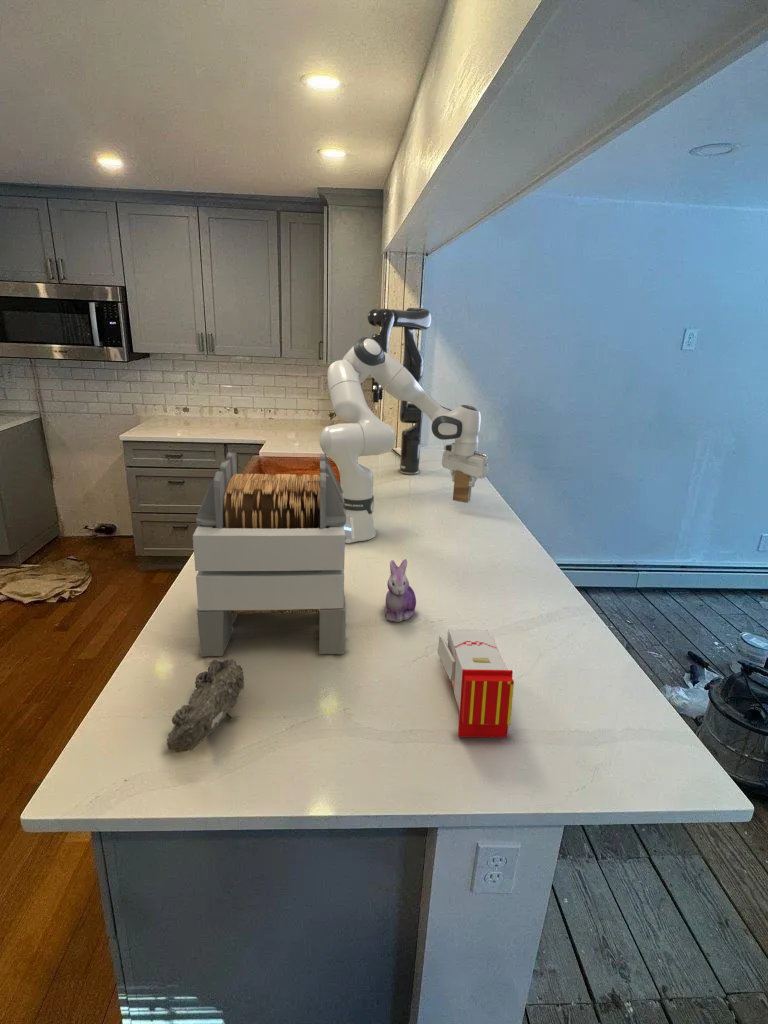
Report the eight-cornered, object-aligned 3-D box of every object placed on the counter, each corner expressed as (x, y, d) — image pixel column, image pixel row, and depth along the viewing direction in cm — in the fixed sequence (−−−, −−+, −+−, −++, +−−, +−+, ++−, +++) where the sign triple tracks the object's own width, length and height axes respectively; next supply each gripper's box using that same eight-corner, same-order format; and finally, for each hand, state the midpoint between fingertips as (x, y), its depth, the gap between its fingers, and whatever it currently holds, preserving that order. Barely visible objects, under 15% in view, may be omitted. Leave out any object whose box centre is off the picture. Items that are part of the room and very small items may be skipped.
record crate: (222, 587, 157) (213, 443, 143) (340, 586, 160) (343, 445, 147) (197, 659, 125) (183, 482, 111) (345, 655, 129) (349, 484, 115)
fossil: (192, 660, 117) (244, 628, 112) (224, 691, 120) (276, 661, 115) (142, 746, 98) (202, 712, 93) (182, 779, 101) (242, 748, 96)
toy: (488, 613, 130) (523, 677, 101) (484, 667, 133) (517, 744, 104) (435, 612, 130) (455, 676, 101) (432, 666, 133) (451, 743, 103)
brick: (467, 502, 218) (470, 473, 214) (452, 500, 220) (455, 470, 216) (470, 500, 222) (473, 470, 218) (455, 497, 224) (458, 468, 220)
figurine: (392, 627, 141) (395, 572, 136) (374, 608, 149) (376, 556, 144) (425, 619, 145) (429, 566, 140) (405, 601, 154) (408, 550, 149)
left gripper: (493, 453, 209) (489, 489, 214) (451, 442, 223) (448, 476, 228) (482, 455, 205) (479, 492, 210) (440, 444, 219) (438, 479, 224)
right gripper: (385, 362, 223) (383, 404, 228) (391, 359, 236) (389, 399, 241) (366, 361, 224) (365, 402, 229) (373, 358, 237) (372, 397, 242)
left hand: (462, 484), depth 219 cm, fingers closed on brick, 7 cm apart
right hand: (377, 400), depth 235 cm, fingers open, 8 cm apart
